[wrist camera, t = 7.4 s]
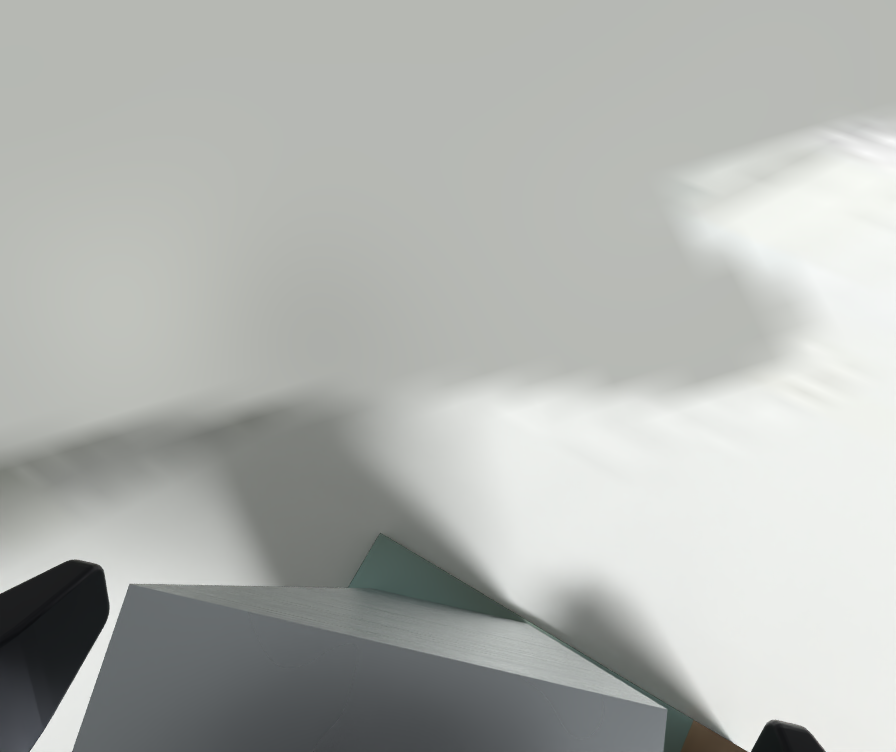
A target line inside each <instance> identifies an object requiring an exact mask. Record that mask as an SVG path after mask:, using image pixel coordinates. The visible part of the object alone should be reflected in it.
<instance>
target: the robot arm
mask: <svg viewBox="0 0 896 752" xmlns="http://www.w3.org/2000/svg"><path fill="white" fill-rule="evenodd" d="M109 608H110V606H109V599H108V593H107V586H106V580H105V574H104V570H103V569H102V567H101V566H100V565H98V564H94V563H90V562H86V561H81V560H69V561H66V562H64V563H62V564H60V565H58V566H56V567H54V568H52V569H50V570H48V571H46V572H44V573H42V574H40V575H38V576H36V577H34V578H32V579H29V580H27V581H25V582H23V583H21V584H19V585H17V586H15V587H13V588H11V589H9V590H7V591H5V592H3V593H1V594H0V752H30V750H31V749H32V747H33V746H34V744H35V743H36V741H37V740H38V738H39V737H40V735H41V734H42V732H43V731H44V729H45V728H46V726H47V724H48V723H49V721H50V719H51V718H52V716H53V715H54V713H55V711H56V709H57V708H58V706H59V704H60V702H61V701H62V699H63V697H64V695H65V694H66V692H67V690H68V688H69V687H70V685H71V683H72V681H73V680H74V678H75V676H76V674H77V673H78V671H79V669H80V667H81V666H82V664H83V662H84V660H85V659H86V657H87V655H88V653H89V652H90V650H91V648H92V646H93V645H94V643H95V641H96V639H97V638H98V636H99V634H100V632H101V631H102V629H103V627H104V625H105V623H106V621H107V618H108V615H109ZM751 752H826V751H825V750H824V749H823V748H822V746H821V745H820V744H819V743H818V741H817V740H816V739H815V737H814V736H813V735H812V734H811V733H810V732H809V731H808V730H807V729H806V728H804V727H802V726H800V725H796V724H792V723H788V722H783V721H779V720H771V721H769V722H767V724H766V725H765V727H764V729H763V730H762V732H761V734H760V736H759V738H758V740H757V741H756V743H755V745H754V747H753V749H752V751H751Z"/></svg>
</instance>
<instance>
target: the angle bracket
mask: <svg viewBox="0 0 896 752" xmlns="http://www.w3.org/2000/svg"><path fill="white" fill-rule="evenodd" d="M667 710H668V709H666V708H664V707H663V706H661V705H659V704H658V703H656V702H655V701H653V700H651V699H650V698H648V697H646V696H645V695H643V694H642V693H640V692H638V691H637V690H635V689H633V688H632V687H630V686H628V685H627V684H625V683H624V682H622V681H620V680H619V679H617V678H615V677H614V676H612V675H610V674H609V673H607V672H606V671H604V670H602V669H601V668H599V667H597V666H596V665H594V664H592V663H591V662H589V661H588V660H586V659H584V658H583V657H581V656H579V655H578V654H576V653H575V652H573V651H571V650H570V649H568V648H566V647H565V646H563V645H561V644H560V643H558V642H557V641H555V640H553V639H552V638H550V637H548V636H547V635H545V634H543V633H542V632H540V631H539V630H537V629H535V628H534V627H532V626H530V625H529V624H527V623H524V622H519V621H515V620H510V619H506V618H502V617H497V616H493V615H488V614H484V613H479V612H475V611H471V610H466V609H462V608H457V607H453V606H448V605H444V604H440V603H435V602H431V601H426V600H422V599H417V598H413V597H408V596H404V595H400V594H395V593H391V592H386V591H382V590H377V589H373V588H329V587H275V586H221V585H167V584H129V587H128V590H127V593H126V596H125V599H124V602H123V605H122V608H121V611H120V614H119V616H118V619H117V622H116V625H115V628H114V631H113V634H112V637H111V640H110V643H109V646H108V649H107V652H106V654H105V657H104V660H103V663H102V666H101V669H100V672H99V675H98V678H97V681H96V684H95V687H94V689H93V692H92V695H91V698H90V701H89V704H88V707H87V710H86V713H85V716H84V719H83V722H82V725H81V727H80V730H79V733H78V736H77V739H76V742H75V745H74V748H73V751H72V752H663V750H664V740H665V730H666V720H667Z"/></svg>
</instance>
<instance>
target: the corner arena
mask: <svg viewBox="0 0 896 752" xmlns="http://www.w3.org/2000/svg"><path fill="white" fill-rule="evenodd" d="M348 588H373V589H377V590H382V591H386V592H391V593H395V594H400V595H404V596H408V597H413V598H417V599H422V600H426V601H431V602H435V603H440V604H444V605H448V606H453V607H457V608H462V609H466V610H471V611H475V612H479V613H484V614H488V615H493V616H497V617H502V618H506V619H510V620H515V621H519V622H524V623H527V624H529V625H530V626H532V627H534V628H535V629H537V630H539V631H540V632H542V633H543V634H545V635H547V636H548V637H550V638H552V639H553V640H555V641H557V642H558V643H560V644H561V645H563V646H565V647H566V648H568V649H570V650H571V651H573V652H575V653H576V654H578V655H579V656H581V657H583V658H584V659H586V660H588V661H589V662H591V663H592V664H594V665H596V666H597V667H599V668H601V669H602V670H604V671H606V672H607V673H609V674H610V675H612V676H614V677H615V678H617V679H619V680H620V681H622V682H624V683H625V684H627V685H628V686H630V687H632V688H633V689H635V690H637V691H638V692H640V693H642V694H643V695H645V696H646V697H648V698H650V699H651V700H653V701H655V702H656V703H658V704H659V705H661V706H663V707H664V708H666V709H668V710H667V720H666V730H665V740H664V750H663V752H747V751H746V750H744V749H742V748H741V747H739V746H737V745H735V744H734V743H732V742H730V741H729V740H727V739H725V738H724V737H722V736H720V735H718V734H717V733H715V732H713V731H712V730H710V729H708V728H707V727H705V726H703V725H701V724H700V723H698V722H696V721H695V720H693V719H691V718H690V717H688V716H686V715H685V714H683V713H681V712H680V711H678V710H676V709H675V708H673V707H671V706H669V705H668V704H666V703H664V702H663V701H661V700H659V699H658V698H656V697H654V696H653V695H651V694H649V693H648V692H646V691H644V690H643V689H641V688H639V687H638V686H636V685H634V684H633V683H631V682H629V681H628V680H626V679H624V678H623V677H621V676H619V675H618V674H616V673H614V672H613V671H611V670H609V669H608V668H606V667H604V666H603V665H601V664H599V663H598V662H596V661H594V660H592V659H591V658H589V657H587V656H586V655H584V654H582V653H581V652H579V651H577V650H576V649H574V648H572V647H571V646H569V645H567V644H566V643H564V642H562V641H561V640H559V639H557V638H556V637H554V636H552V635H551V634H549V633H547V632H546V631H544V630H542V629H541V628H539V627H537V626H536V625H534V624H532V623H531V622H529V621H527V620H526V619H524V618H522V617H521V616H519V615H517V614H516V613H514V612H512V611H510V610H509V609H507V608H505V607H504V606H502V605H500V604H499V603H497V602H495V601H494V600H492V599H490V598H489V597H487V596H485V595H484V594H482V593H480V592H479V591H477V590H475V589H474V588H472V587H470V586H469V585H467V584H465V583H464V582H462V581H460V580H459V579H457V578H455V577H454V576H452V575H450V574H449V573H447V572H445V571H444V570H442V569H440V568H439V567H437V566H435V565H433V564H432V563H430V562H428V561H427V560H425V559H423V558H422V557H420V556H418V555H417V554H415V553H413V552H412V551H410V550H408V549H407V548H405V547H403V546H402V545H400V544H398V543H397V542H395V541H393V540H392V539H390V538H388V537H387V536H385V535H383V534H382V533H380V534H379V536H378V537H377V539H376V541H375V543H374V544H373V546H372V548H371V549H370V551H369V553H368V555H367V556H366V558H365V560H364V561H363V563H362V565H361V566H360V568H359V570H358V572H357V573H356V575H355V577H354V578H353V580H352V582H351V583H350V585H349V587H348Z"/></svg>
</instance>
